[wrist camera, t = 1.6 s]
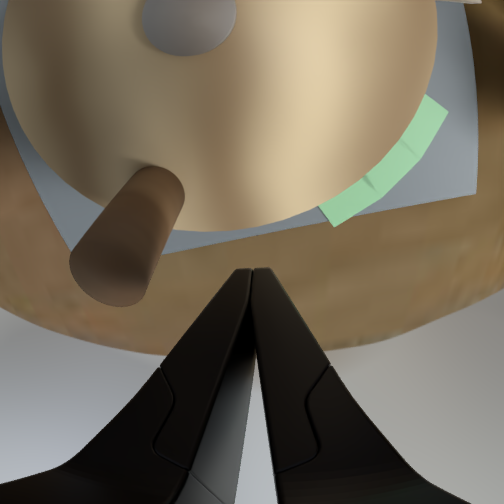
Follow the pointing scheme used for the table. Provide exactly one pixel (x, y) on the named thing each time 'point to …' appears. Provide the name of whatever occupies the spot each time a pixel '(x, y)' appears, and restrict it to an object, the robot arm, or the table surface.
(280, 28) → the dial
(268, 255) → the table surface
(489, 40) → the table surface
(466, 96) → the plate
